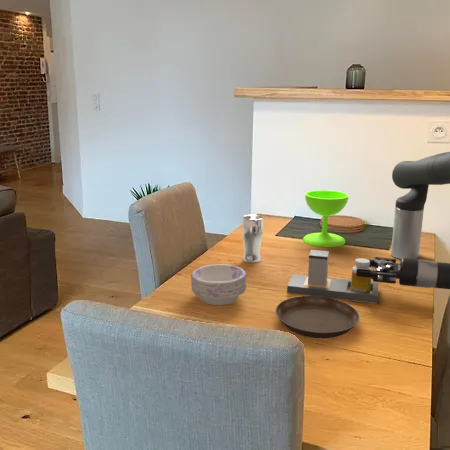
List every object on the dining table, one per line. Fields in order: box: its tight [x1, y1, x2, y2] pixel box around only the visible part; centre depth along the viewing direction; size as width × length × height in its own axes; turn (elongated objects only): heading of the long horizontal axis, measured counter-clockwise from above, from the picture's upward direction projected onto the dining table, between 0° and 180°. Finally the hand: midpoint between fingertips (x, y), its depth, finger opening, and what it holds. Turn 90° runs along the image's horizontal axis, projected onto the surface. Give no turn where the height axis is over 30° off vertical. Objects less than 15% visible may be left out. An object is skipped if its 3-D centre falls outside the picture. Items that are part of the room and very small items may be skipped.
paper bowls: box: [190, 263, 247, 306], centre depth 145 cm, size 15×15×8 cm
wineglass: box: [302, 189, 349, 248], centre depth 198 cm, size 16×16×18 cm
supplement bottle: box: [350, 257, 372, 293], centre depth 149 cm, size 5×5×10 cm
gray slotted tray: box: [286, 249, 379, 304], centre depth 151 cm, size 10×25×11 cm, turn 73°
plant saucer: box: [275, 295, 360, 339], centre depth 132 cm, size 21×21×3 cm
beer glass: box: [241, 214, 264, 264], centre depth 176 cm, size 7×7×15 cm
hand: (357, 267), depth 148 cm, fingers open, 8 cm apart
